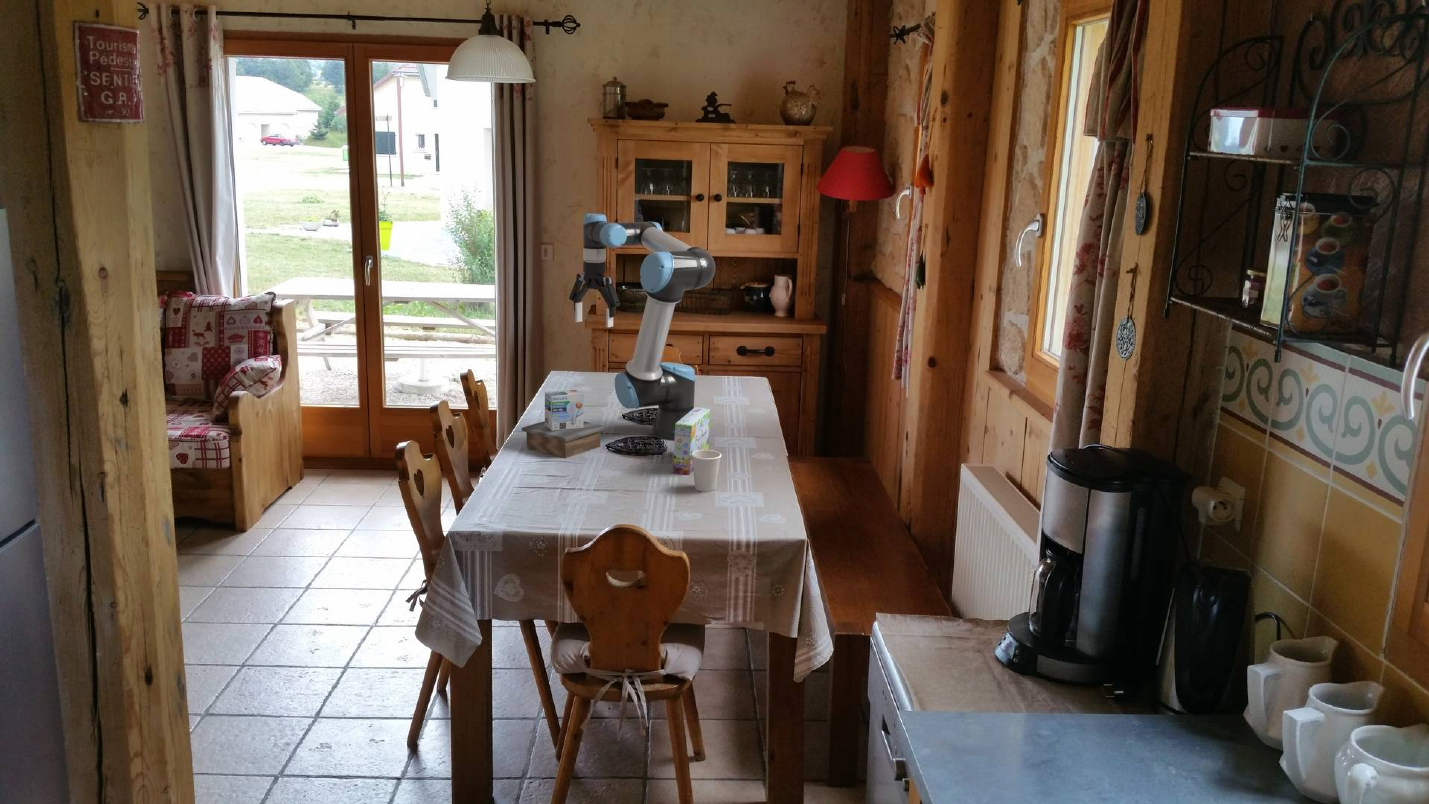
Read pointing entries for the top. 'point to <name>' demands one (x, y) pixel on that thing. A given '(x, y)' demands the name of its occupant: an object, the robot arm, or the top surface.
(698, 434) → the snack box
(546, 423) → the light bulb box
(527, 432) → the podium
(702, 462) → the dixie cup
